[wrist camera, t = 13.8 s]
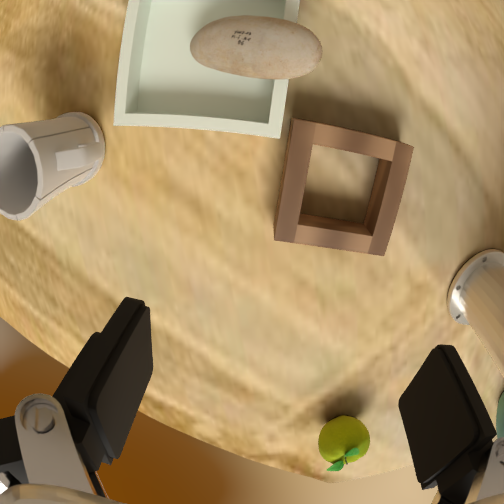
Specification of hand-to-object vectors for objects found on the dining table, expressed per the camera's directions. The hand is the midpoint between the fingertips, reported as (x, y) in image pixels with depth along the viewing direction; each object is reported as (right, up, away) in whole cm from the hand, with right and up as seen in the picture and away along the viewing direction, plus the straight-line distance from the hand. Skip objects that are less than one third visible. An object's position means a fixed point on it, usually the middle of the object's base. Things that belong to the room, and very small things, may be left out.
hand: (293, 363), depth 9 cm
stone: (-6, +23, +16) cm, 29 cm away
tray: (-6, +23, +17) cm, 29 cm away
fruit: (+15, -28, +42) cm, 53 cm away
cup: (-21, +16, +22) cm, 34 cm away
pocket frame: (+8, +11, +23) cm, 26 cm away
